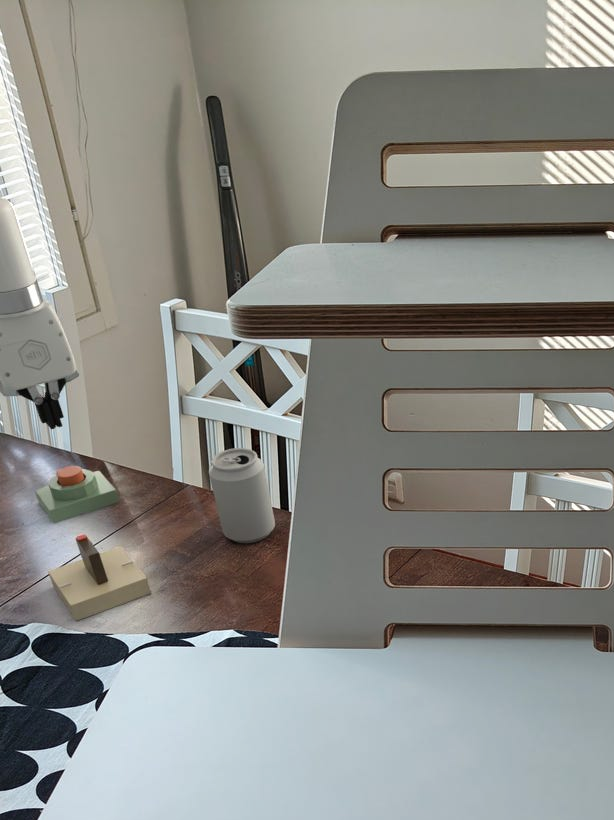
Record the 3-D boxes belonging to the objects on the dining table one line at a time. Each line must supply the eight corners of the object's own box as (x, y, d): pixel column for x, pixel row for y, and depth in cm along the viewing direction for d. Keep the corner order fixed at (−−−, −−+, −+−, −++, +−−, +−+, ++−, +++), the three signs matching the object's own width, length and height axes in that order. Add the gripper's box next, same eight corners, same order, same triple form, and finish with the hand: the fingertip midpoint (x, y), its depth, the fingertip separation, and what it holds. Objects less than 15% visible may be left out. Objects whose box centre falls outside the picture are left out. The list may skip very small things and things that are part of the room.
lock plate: (76, 621, 125) (70, 604, 123) (53, 586, 132) (47, 570, 130) (151, 593, 129) (146, 576, 128) (125, 561, 136) (120, 544, 134)
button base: (53, 523, 145) (45, 500, 142) (38, 502, 150) (30, 479, 148) (119, 502, 149) (112, 479, 147) (102, 482, 155) (95, 459, 152)
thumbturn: (108, 581, 127) (98, 550, 124) (98, 585, 127) (87, 554, 124) (95, 563, 131) (85, 533, 128) (84, 566, 130) (74, 536, 127)
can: (281, 538, 139) (266, 462, 132) (228, 551, 137) (210, 474, 130) (270, 514, 145) (255, 440, 137) (219, 525, 143) (202, 451, 135)
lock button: (63, 490, 146) (60, 479, 145) (56, 480, 148) (53, 470, 147) (87, 482, 147) (84, 472, 146) (80, 473, 150) (77, 463, 148)
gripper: (-41, 318, 125) (8, 449, 136) (76, 292, 132) (113, 418, 143) (-54, 304, 130) (-6, 431, 141) (59, 279, 136) (96, 402, 148)
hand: (54, 424), depth 142 cm, fingers closed
